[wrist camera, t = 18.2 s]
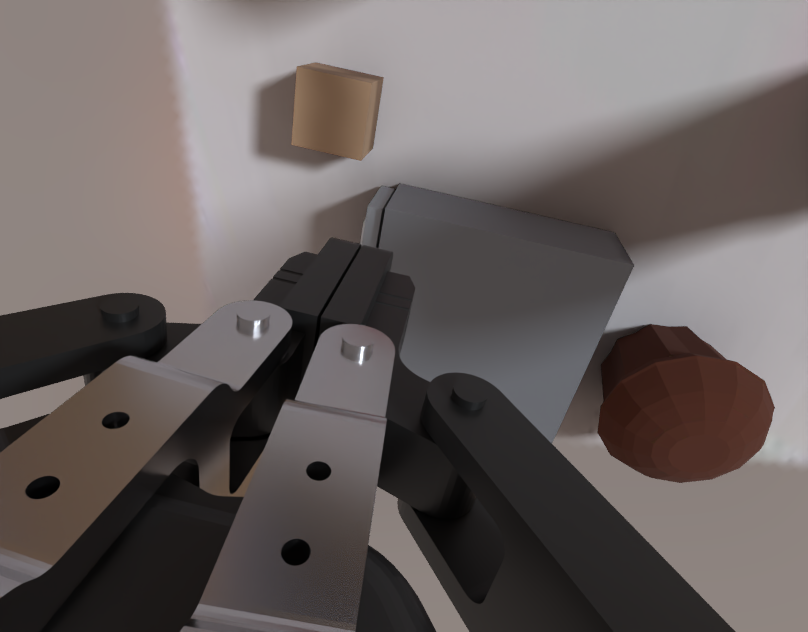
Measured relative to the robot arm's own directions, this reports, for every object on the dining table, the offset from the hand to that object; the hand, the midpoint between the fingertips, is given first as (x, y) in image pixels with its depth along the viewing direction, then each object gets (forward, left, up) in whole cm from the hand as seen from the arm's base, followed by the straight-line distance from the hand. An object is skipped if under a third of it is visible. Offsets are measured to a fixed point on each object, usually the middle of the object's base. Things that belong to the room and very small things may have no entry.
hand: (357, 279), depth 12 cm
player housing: (-6, +13, -27) cm, 31 cm away
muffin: (-22, +16, -27) cm, 39 cm away
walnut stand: (+7, +1, -27) cm, 28 cm away
